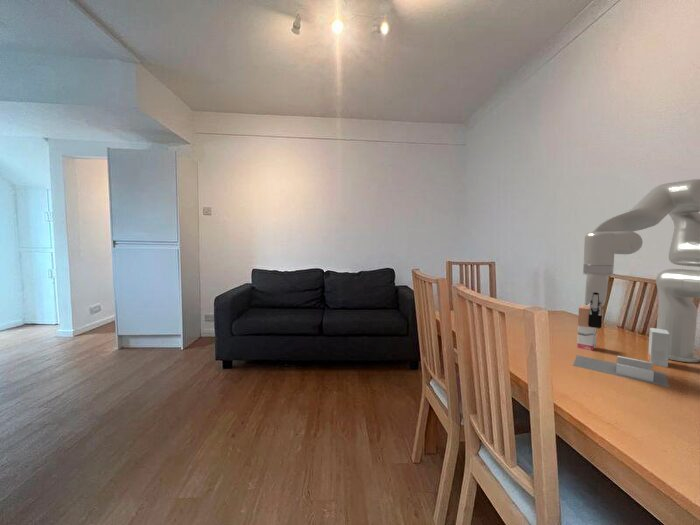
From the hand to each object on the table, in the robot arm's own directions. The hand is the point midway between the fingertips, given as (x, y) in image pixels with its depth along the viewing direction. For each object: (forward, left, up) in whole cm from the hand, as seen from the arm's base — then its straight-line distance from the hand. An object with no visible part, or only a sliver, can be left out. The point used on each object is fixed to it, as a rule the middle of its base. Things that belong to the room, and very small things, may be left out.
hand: (595, 324), depth 98 cm
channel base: (0, +6, -14) cm, 15 cm away
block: (0, -1, -1) cm, 1 cm away
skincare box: (-16, +16, -14) cm, 27 cm away
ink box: (-20, -3, -14) cm, 25 cm away
